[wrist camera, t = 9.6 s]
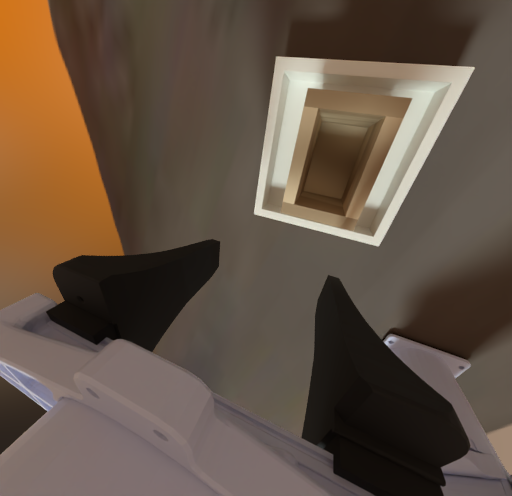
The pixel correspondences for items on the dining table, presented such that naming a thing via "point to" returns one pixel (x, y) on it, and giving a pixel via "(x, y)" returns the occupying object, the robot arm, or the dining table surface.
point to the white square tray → (402, 149)
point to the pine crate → (340, 154)
